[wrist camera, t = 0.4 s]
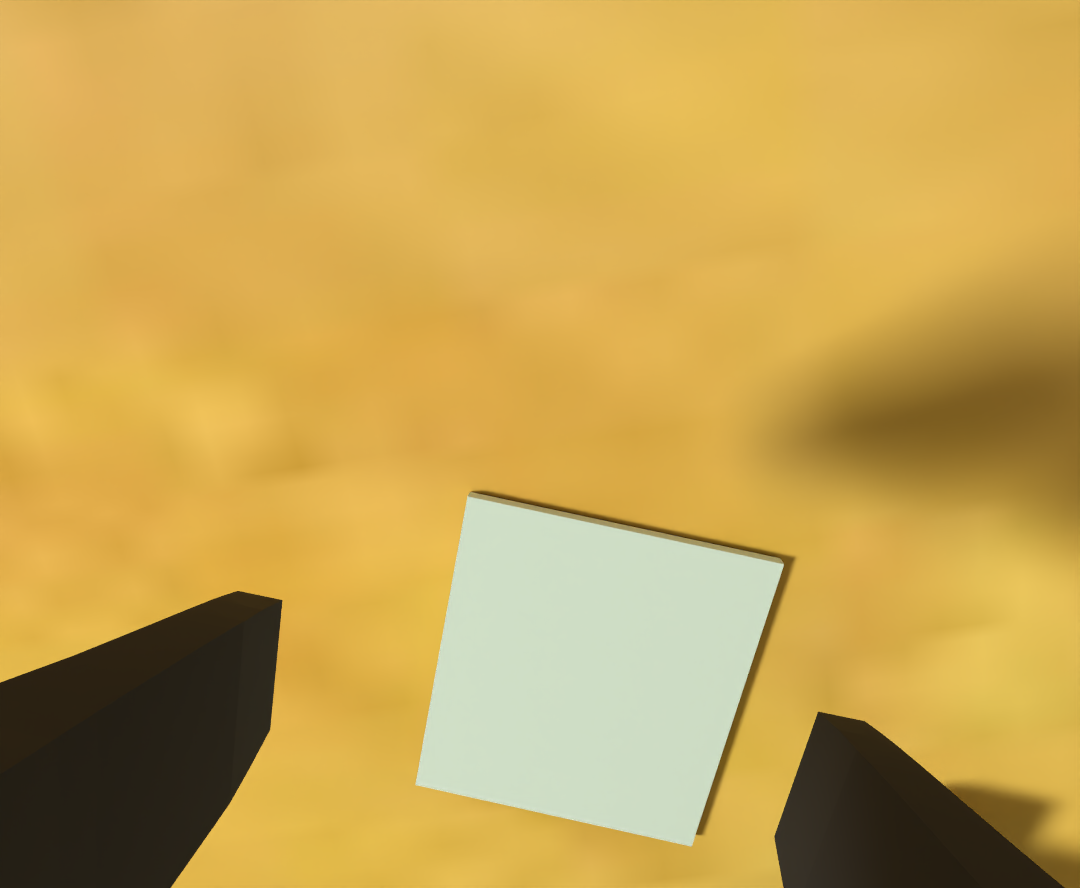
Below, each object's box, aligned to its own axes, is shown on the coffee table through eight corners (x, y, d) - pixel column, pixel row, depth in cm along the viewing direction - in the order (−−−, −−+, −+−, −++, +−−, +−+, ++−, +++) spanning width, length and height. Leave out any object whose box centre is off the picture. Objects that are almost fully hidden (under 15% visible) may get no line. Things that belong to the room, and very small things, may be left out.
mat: (689, 835, 21) (691, 846, 21) (418, 775, 21) (415, 785, 21) (780, 558, 18) (784, 564, 18) (470, 491, 19) (467, 496, 18)
